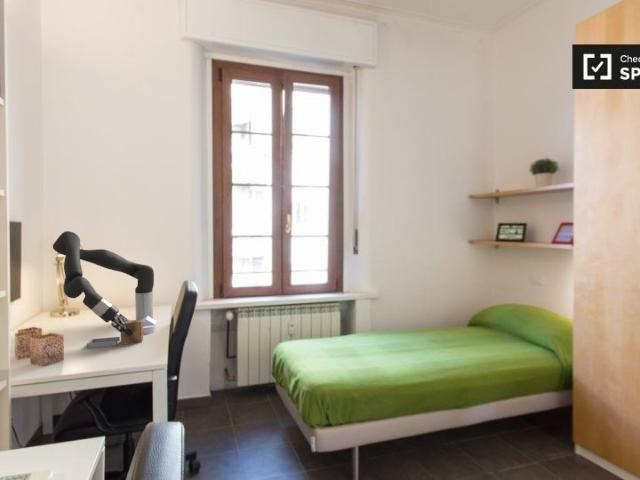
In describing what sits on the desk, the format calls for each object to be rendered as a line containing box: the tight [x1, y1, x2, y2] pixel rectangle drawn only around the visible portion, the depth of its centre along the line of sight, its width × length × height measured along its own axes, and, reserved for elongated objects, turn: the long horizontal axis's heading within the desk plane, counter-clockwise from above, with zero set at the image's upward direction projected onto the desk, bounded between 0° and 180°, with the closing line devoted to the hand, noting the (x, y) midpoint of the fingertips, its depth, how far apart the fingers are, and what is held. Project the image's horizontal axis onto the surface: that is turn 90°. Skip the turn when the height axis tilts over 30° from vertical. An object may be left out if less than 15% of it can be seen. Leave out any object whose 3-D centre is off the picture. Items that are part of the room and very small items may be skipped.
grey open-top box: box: [86, 336, 121, 349], centre depth 178 cm, size 12×8×2 cm, turn 107°
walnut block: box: [120, 319, 144, 345], centre depth 182 cm, size 9×5×10 cm, turn 107°
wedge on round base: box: [143, 316, 157, 335], centre depth 201 cm, size 9×7×13 cm
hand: (132, 332), depth 182 cm, fingers open, 7 cm apart
